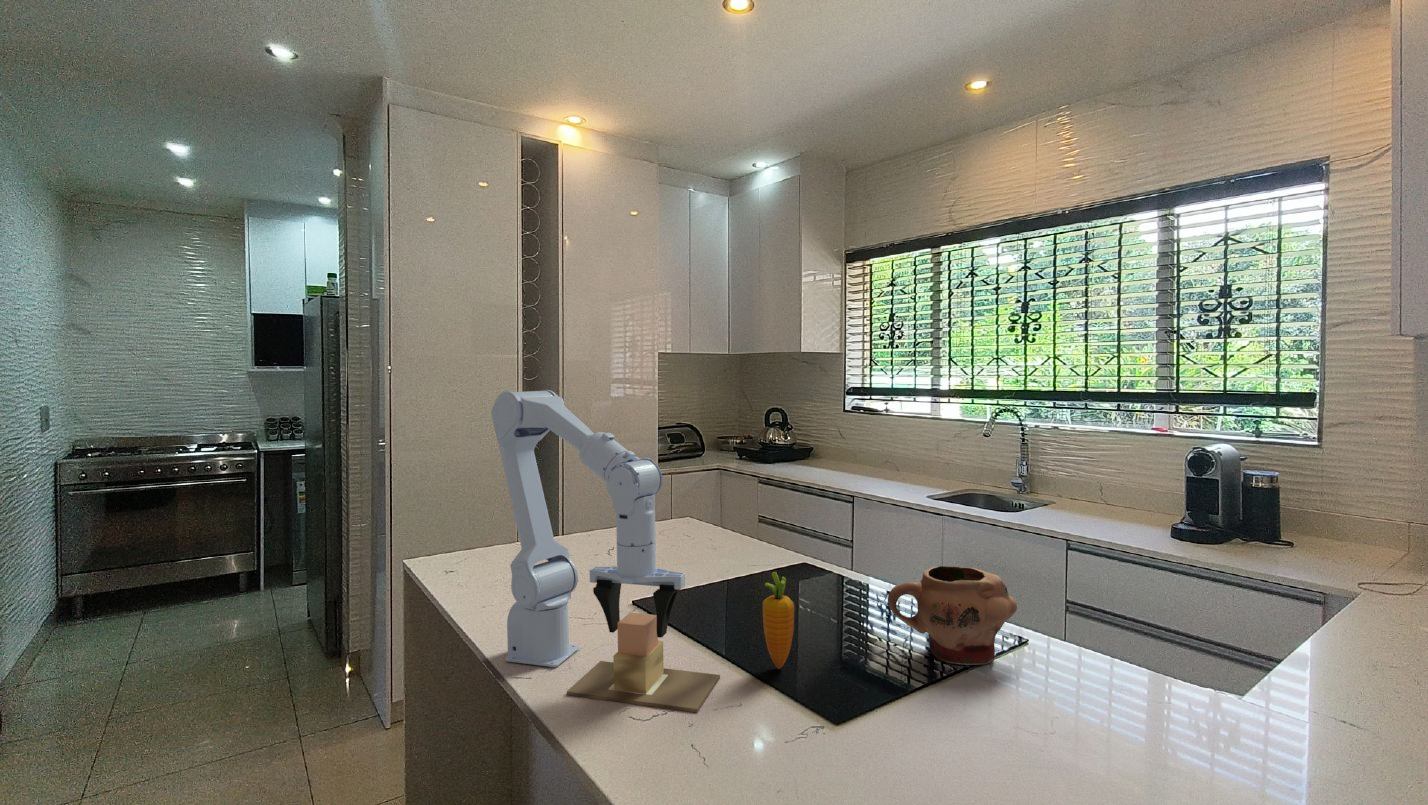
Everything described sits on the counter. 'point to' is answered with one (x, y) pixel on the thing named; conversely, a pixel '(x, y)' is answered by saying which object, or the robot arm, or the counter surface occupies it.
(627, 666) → the oak block
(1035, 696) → the counter surface
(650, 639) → the terracotta cube
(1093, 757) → the counter surface
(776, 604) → the carrot
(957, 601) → the brown clay mug
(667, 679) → the brown wooden board
